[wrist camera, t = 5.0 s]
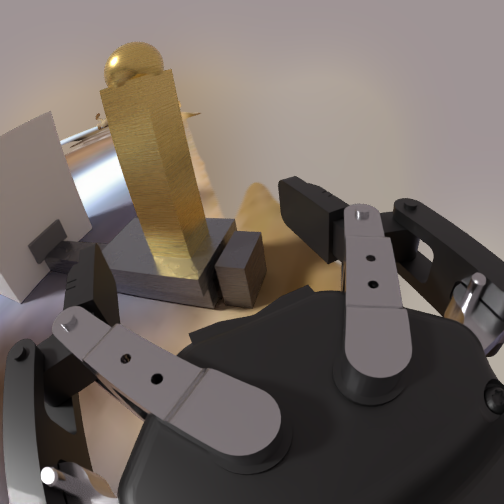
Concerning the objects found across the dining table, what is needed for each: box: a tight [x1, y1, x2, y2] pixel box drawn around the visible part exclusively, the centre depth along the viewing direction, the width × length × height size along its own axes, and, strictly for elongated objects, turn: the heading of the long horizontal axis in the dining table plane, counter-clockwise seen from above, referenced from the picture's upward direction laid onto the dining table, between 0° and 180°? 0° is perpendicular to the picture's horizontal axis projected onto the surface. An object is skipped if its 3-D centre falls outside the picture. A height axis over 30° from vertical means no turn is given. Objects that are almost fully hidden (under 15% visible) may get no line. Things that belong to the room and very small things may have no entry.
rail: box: [45, 231, 267, 308], centre depth 25 cm, size 26×4×4 cm, turn 73°
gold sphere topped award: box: [100, 42, 237, 308], centre depth 19 cm, size 10×7×18 cm
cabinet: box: [0, 111, 93, 303], centre depth 26 cm, size 8×15×16 cm, turn 163°
